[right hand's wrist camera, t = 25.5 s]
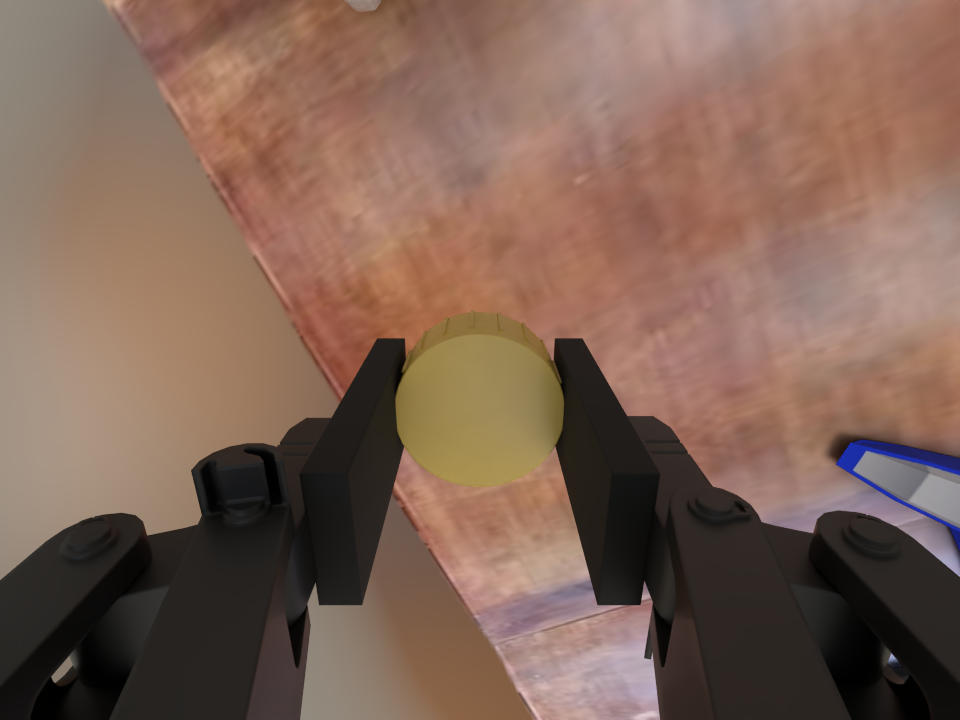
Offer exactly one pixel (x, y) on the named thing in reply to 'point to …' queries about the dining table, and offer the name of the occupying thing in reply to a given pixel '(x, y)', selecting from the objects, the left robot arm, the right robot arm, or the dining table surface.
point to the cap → (479, 400)
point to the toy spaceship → (909, 478)
